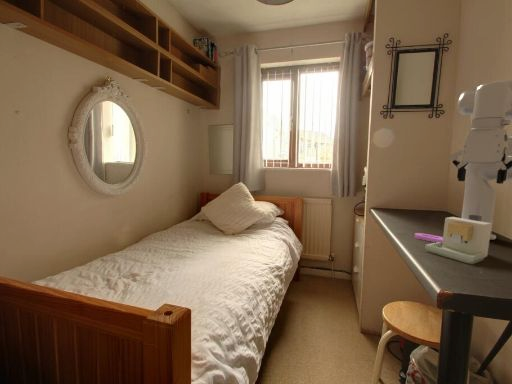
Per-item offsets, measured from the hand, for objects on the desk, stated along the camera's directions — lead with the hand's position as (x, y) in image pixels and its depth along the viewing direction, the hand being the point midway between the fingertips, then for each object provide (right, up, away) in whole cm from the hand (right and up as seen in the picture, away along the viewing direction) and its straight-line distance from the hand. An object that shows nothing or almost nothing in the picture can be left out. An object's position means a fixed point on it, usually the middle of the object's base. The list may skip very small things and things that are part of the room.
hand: (479, 182), depth 83 cm
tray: (-11, -22, -4) cm, 25 cm away
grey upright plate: (-5, -18, -1) cm, 19 cm away
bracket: (-6, -21, +12) cm, 25 cm away
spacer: (-9, -17, -3) cm, 19 cm away
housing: (-5, -22, 0) cm, 22 cm away
